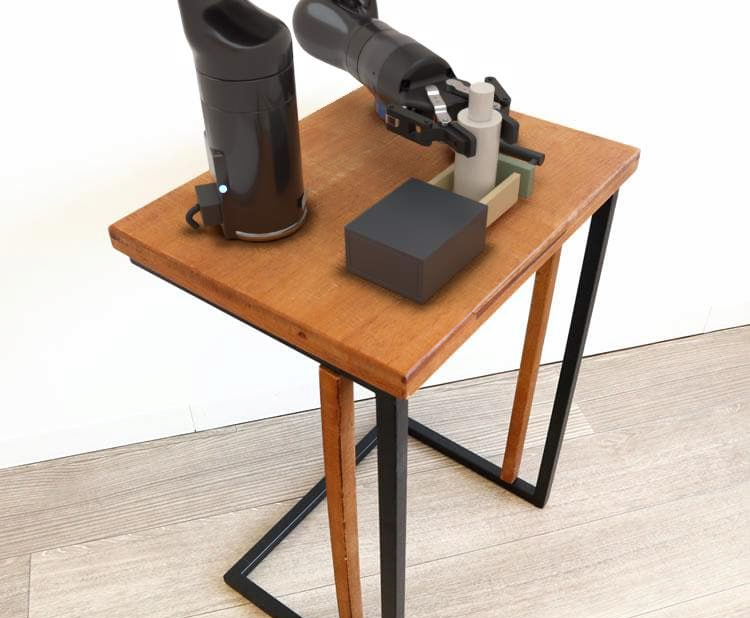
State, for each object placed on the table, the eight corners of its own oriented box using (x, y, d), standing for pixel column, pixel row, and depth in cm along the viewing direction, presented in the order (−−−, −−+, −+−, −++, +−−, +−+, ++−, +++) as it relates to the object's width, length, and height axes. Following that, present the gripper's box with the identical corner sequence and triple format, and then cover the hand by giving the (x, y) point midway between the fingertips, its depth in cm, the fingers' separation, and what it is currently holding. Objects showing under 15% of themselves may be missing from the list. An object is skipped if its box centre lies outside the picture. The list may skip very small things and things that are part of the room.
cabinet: (410, 219, 90) (411, 176, 86) (484, 249, 86) (488, 205, 82) (345, 270, 84) (343, 226, 80) (422, 305, 79) (423, 260, 76)
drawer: (489, 157, 98) (491, 129, 95) (550, 178, 94) (554, 149, 92) (417, 213, 89) (418, 183, 87) (482, 238, 86) (484, 208, 83)
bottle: (450, 204, 88) (456, 96, 80) (455, 182, 91) (461, 75, 83) (492, 208, 88) (503, 99, 79) (495, 186, 91) (506, 78, 82)
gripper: (346, 57, 88) (435, 124, 77) (460, 28, 93) (558, 88, 82) (349, 123, 93) (432, 195, 83) (456, 93, 98) (548, 157, 88)
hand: (494, 141), depth 83 cm, fingers closed on bottle, 4 cm apart
